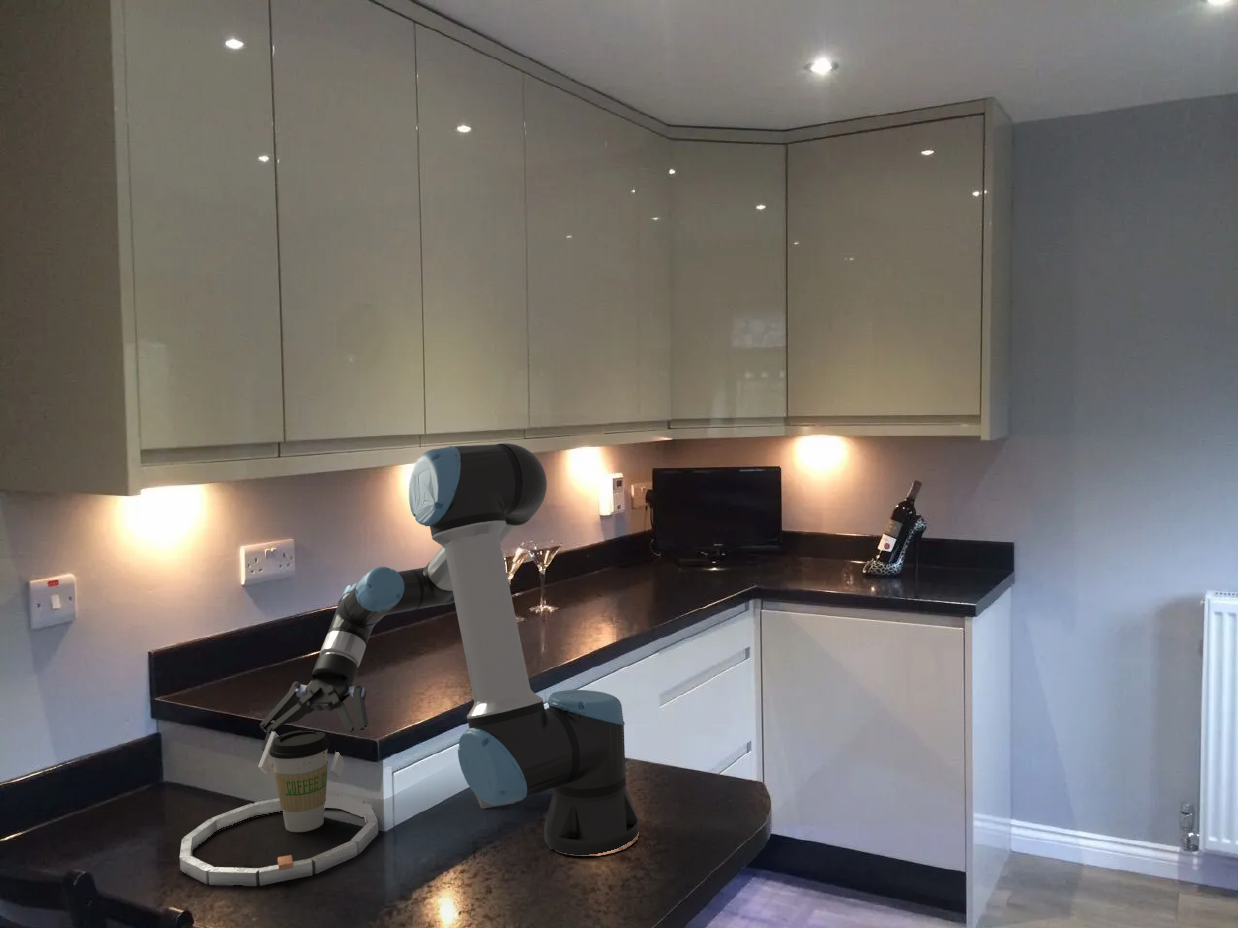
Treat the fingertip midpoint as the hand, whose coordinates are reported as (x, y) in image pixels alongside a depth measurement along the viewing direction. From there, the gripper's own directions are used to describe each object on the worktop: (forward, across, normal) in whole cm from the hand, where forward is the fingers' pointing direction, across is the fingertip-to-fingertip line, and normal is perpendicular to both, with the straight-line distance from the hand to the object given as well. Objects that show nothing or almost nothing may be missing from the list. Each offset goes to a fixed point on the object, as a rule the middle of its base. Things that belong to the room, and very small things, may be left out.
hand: (298, 772), depth 169 cm
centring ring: (+11, 0, -2) cm, 11 cm away
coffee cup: (+7, 0, -7) cm, 9 cm away
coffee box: (-4, -29, -18) cm, 34 cm away
